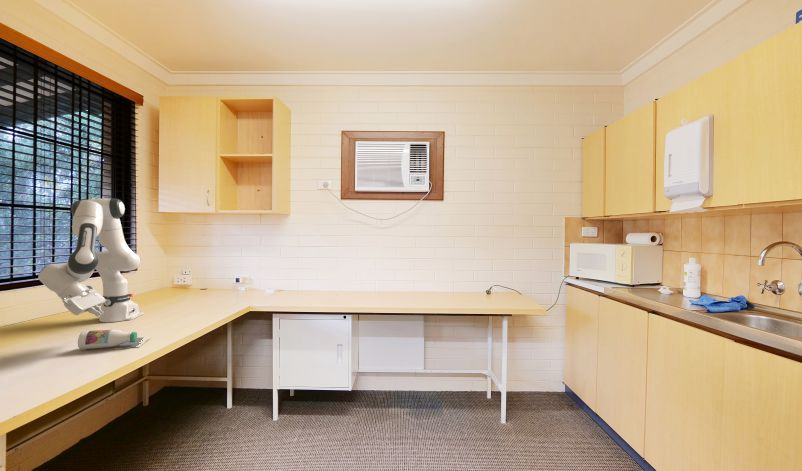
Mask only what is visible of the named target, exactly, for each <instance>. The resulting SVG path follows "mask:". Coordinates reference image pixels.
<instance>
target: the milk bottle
mask: <svg viewBox="0 0 802 471" xmlns="http://www.w3.org/2000/svg"><path fill="white" fill-rule="evenodd" d="M137 338H138V332H137V331H130V332H125V331H124V330H119V329H100V330H98V329H97V330H83V331H82V332H81V331H80V334H79V335H78V338H77V348H78V349H79V350H86V349H94V348H107V347H115V346H118V345H120V344H123V343H126V342H136V340H137Z"/></svg>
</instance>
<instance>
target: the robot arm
mask: <svg viewBox="0 0 802 471" xmlns="http://www.w3.org/2000/svg"><path fill="white" fill-rule="evenodd" d="M125 210H126V208H125V204H124V202H123V201H122V200H121V199H119V198H91V199H80V200H79V199H78V200H75V201H74V202H73V203H72V204H71V206H70V212H71V214H72V216H73V219H72V220H73V221H72V233H73V234H74V235H75V236H77V242H76V247H75V250H74V251H73V252H72V253H71V254H70V255H69V257H68V259H67V260H68V261H67V262H63V263H49V264H47V265H45V266H44V267H43V268H42V269H41V270H40V271H39V273H38V275H37V276H38V277H37V278H38V280H39V281H40V282H41V283H42V284H43V285H44V286H45V287H46V288H47V289H49V290H50V292H51V291H52V292H54V293H56V295H57V297H58V298H60V299H61V300H62V303H63V306H64V307H65V309H67V310H68V311H69V312H70V313H71V314H73V315H74V316H80V315H81V314H83V313H86V312H88V313H89V314H93V315H94V316H95V317H98V318H97V319H98V321H99V322H100V323H115V322H122V321H123V322H125V321H132V320H134V319H136V318H138V317H140V316H142V315H144V314H145V312H144V311H140V306H139V304H138V303H136V302H135V301H133V300H131V298H133V297H134V293H129V290H128V289H129V288H128V287H129V283H128V282H129V281H128V279H127V278H125V277H124V276H123V275H122V274H121V272H129V271H134V270H137V269H138V268H139V267H140V265H141V258H140V255H139V254H137V253H136V252H134V251H133V250H132V249H131V248H130V247H129V245H128V244H127V242H126V239H125V235H124V232H123V227H122V226H123V225H122V224H121V219H120V218H122V217H123V216H124V215H125ZM97 238H98V242H99V244H100V245H101V246H102V247H104V248H105V249H106V251H100V252H96V251H95V248H96V241H97ZM95 270H96V272H98V274H99V276H100V278H101V281H102V294H100V292H98V291H97V290H96V289H95V288H94V287H93V286H92V285H85V284H83V283H82V282H85V281H87V280H88V279H90V277H91V276H92V275H93V273H94V271H95Z"/></svg>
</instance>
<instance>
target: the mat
mask: <svg viewBox="0 0 802 471" xmlns="http://www.w3.org/2000/svg"><path fill="white" fill-rule="evenodd" d="M144 337H145V336H144ZM144 337H137V340H136V342H126V343H123V344H120V345H118V346H115V347H107V348H94V349H85V350H86V351H99V350H100V349H104V350H114V349H115V348H121V349H127V348H126V347H136V346H138V345H139V344H141V343H139V342H141V340H142V339H143V338H144ZM142 341H143V340H142ZM115 350H116V349H115ZM100 351H101V350H100Z"/></svg>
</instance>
